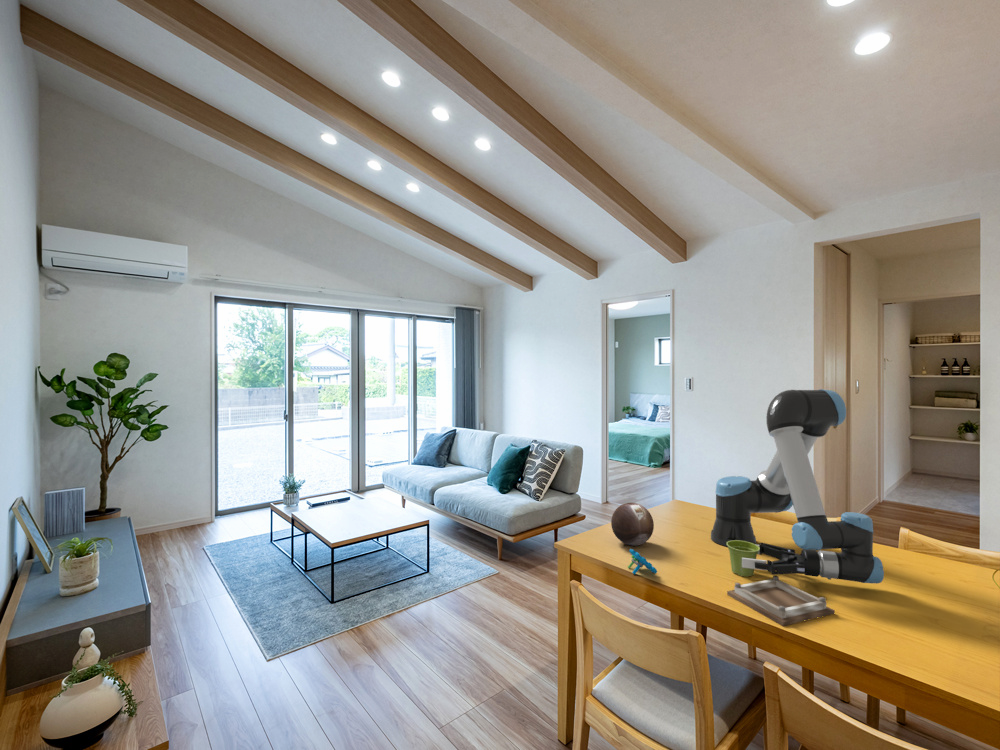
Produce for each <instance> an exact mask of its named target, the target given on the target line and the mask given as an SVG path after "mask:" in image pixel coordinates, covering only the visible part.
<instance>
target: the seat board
mask: <svg viewBox="0 0 1000 750" xmlns="http://www.w3.org/2000/svg"><path fill="white" fill-rule="evenodd" d="M726 592H727V593H726V594H727V596H729V597H731V598H732V599H734V600H735V601H738V602H740V603H741V604H743V605H745V606H746V607H748V608H750V609H752V610H753V611H756V612H757V613H759V614H761V615H763V616H765V617H766V618H767V619H769V620H771V621H773V622H774V623H777V624H778V625H780V626H782V627H785V626H790V625H794V624H798V623H797V622H799V623H802V622H801V621H803V622H805V621H804V620H807V621H809V620H808V619H811V620H813V619H812V618H816V619H818V618H817V617H820V618H823V617H822V616H824V617H827V616H826V615H828V616H832V615H831V614H833V615H835V614H834V613H836V612H835V609H833V608H830V607H828V606H827V599H826V597H823V596H820V597H817V596H814V595H813V594H810V593H808V592H806V591H805V590H802V589H799V588H798V587H796V586H793V585H791V584H789V583H787V582H785V581H783V580H780V578H779V576H777V575H772V578H770V579H766V580H760V581H754V582H749V583H744V584H741V583H739V582H735V583H734V589H732V590H727V591H726ZM793 623H794V624H793Z"/></svg>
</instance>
